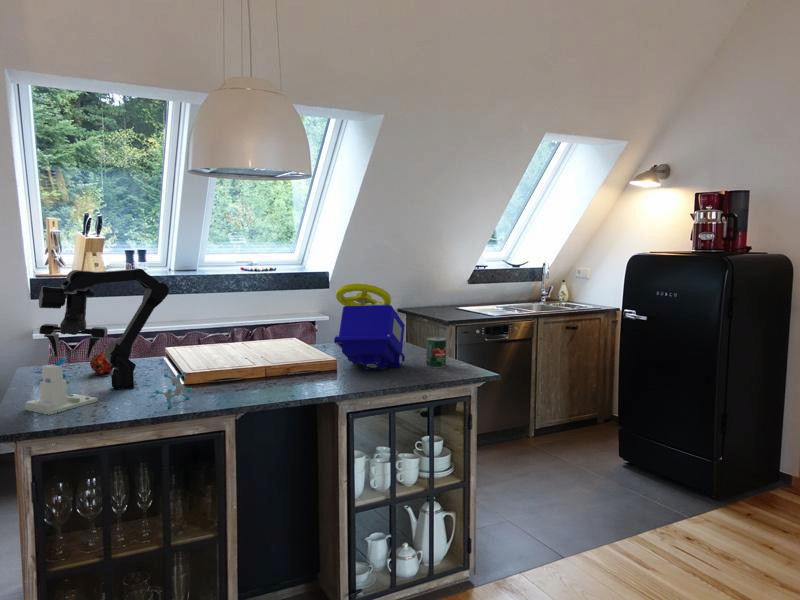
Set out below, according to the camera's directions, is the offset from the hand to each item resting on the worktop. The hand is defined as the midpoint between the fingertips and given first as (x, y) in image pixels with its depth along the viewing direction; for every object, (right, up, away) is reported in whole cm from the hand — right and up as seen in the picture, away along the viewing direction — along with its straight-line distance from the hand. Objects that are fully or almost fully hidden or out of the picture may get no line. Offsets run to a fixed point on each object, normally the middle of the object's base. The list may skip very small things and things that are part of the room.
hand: (72, 357), depth 196 cm
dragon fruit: (-5, -9, +31) cm, 32 cm away
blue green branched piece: (-19, -10, +23) cm, 32 cm away
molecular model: (+35, -14, -6) cm, 38 cm away
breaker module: (+1, -13, -12) cm, 17 cm away
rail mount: (+2, -14, -10) cm, 17 cm away
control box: (+93, -8, +46) cm, 104 cm away
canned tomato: (+120, -8, +46) cm, 129 cm away
